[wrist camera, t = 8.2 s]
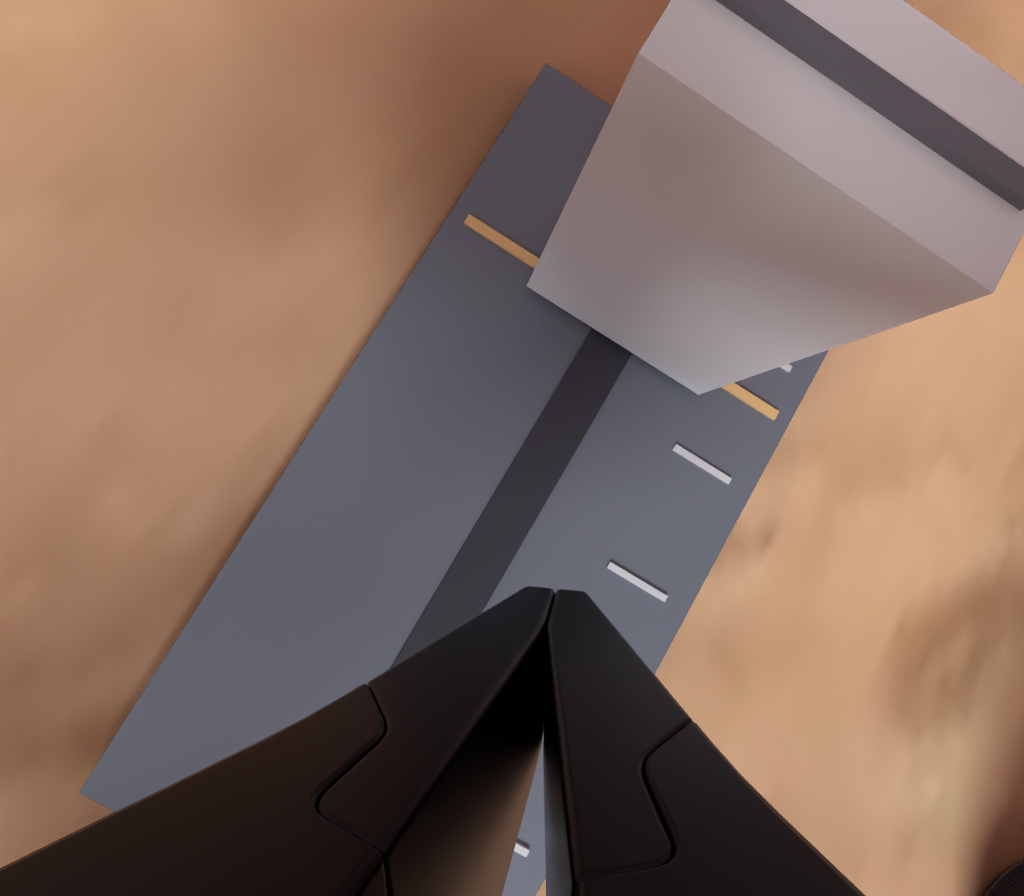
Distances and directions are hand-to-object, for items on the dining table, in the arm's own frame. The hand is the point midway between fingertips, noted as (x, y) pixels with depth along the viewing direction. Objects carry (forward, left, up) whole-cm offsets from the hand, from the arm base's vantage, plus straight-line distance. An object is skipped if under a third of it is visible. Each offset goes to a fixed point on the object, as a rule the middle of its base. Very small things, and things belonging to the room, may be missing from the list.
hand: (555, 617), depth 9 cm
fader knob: (+6, -6, -9) cm, 13 cm away
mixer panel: (+1, -1, -10) cm, 11 cm away
